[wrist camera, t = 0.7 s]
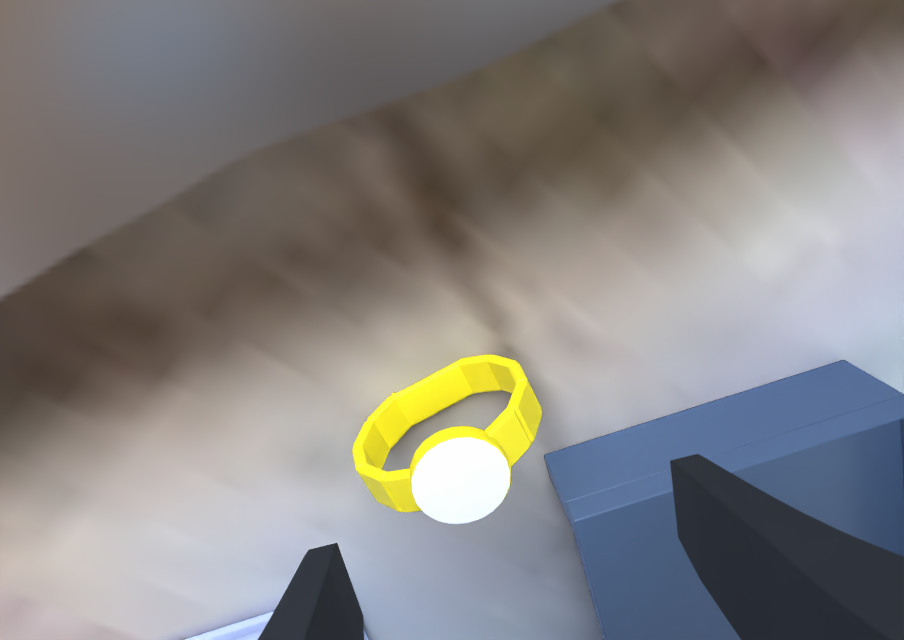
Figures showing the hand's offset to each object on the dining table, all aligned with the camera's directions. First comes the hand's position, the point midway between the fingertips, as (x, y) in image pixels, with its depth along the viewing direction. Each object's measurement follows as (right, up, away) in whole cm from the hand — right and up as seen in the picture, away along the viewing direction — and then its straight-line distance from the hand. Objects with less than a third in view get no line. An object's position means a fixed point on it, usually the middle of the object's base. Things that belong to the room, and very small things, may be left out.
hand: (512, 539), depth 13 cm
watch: (-2, +2, +10) cm, 10 cm away
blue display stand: (+10, -4, +13) cm, 16 cm away
